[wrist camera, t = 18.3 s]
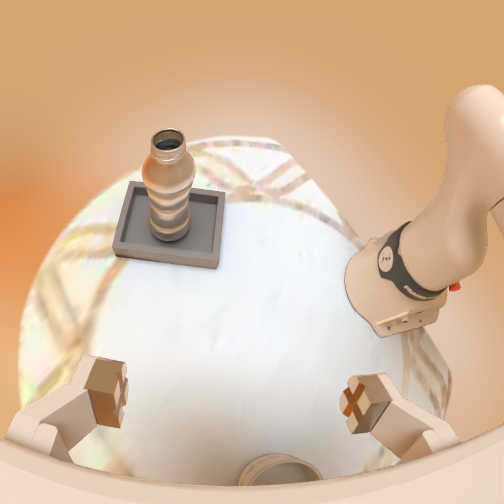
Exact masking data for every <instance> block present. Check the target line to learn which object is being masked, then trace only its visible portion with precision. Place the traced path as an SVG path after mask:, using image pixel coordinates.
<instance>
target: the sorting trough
mask: <svg viewBox="0 0 504 504" xmlns="http://www.w3.org/2000/svg"><path fill="white" fill-rule="evenodd" d="M224 200H225V192H219V191H212V190H204V189H197V188H191V189H190V194H189V208H190V212H191V224H190V227H189V229H188V231H187V233H186V234H185V235H184V236H183V237H181V238H180V239H178V240H175V241H163V240H160V239H158V238H157V237H155V236H154V235H153V233H152V231H151V230H150V228H149V224H148V217H149V211H150V200H149V196H148V192H147V189H146V186H145V184H144V182H135V181H130V183H129V186H128V189H127V193H126V196H125V200H124V203H123V207H122V210H121V214H120V218H119V221H118V225H117V229H116V233H115V237H114V241H113V245H112V248H113V250H114V252H115V254H116V256H118V257H125V258H133V259H140V260H148V261H156V262H163V263H171V264H179V265H187V266H196V267H204V268H212V269H216V268H217V264H218V261H219V250H220V240H221V230H222V220H223V210H224Z"/></svg>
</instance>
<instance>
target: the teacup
mask: <svg viewBox="0 0 504 504" xmlns="http://www.w3.org/2000/svg"><path fill="white" fill-rule="evenodd" d="M319 480H323V478H322V476H321V474H320V473H319V471H318V470H317V469H316V468H315V467H314V466H312V465H311V464H309V463H307V462H304V461H301V460H299V459H297V458H295V457H292V456H289V455H285V454H268V455H265V456H262V457H259V458H257V459H255V460H254V461H252V462H251V463H250V464H248V465H247V466H246V468H245V469H244V470H243V472H242V473H241V475H240V478H239V481H238V486H263V485H280V484H292V483H302V482H311V481H319Z"/></svg>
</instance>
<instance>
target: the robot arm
mask: <svg viewBox="0 0 504 504" xmlns="http://www.w3.org/2000/svg"><path fill="white" fill-rule="evenodd" d="M444 129H445V135H446V142H447V162H446V169H445V174H444V178H443V181H442V184H441V187H440V189H439V191H438V193H437V195H436V196H435V198H434V199H433V201H432V202H431V203H430V204H429V205H428V206H427V207H426V208H425V209H424V210H423V211H422V212H421V213H420V214H419V215H418V216H417V217H416V218H415V219H414V220H413V221H409V222H407V223H405V224H403V225H401V226H400V227H398V228H397V229H393V230H391V231H389V232H388V233H386V234H385V235H383V236H382V237H380V238H376V237H374V238H372V239H370V240H369V241H368V243H367V244H366V246H365V248H364V249H363V250H361V251H360V252H358V253H357V254H355V255H354V256H353V257H352V258H351V260H350V261H349V263H348V266H347V268H346V273H345V286H346V291H347V295H348V297H349V300H350V302H351V304H352V305H353V307H354V308H355V310H356V311H357V312H358V313H359V314H360V315H361V316H362V317H363V318H365V319H366V320H367V321H368V322H369V323H370V324H371V325H372V327H373V329H374V330H375V332H376V333H377V335H378V336H380V337H385V336H389V335H393V334H397V333H401V332H404V331H408V330H411V329H415V328H418V327H422V326H425V325H428V324H432V323H434V322H435V321H436V320H437V317H438V314H439V308H441V307H442V306H444V305H445V302H446V299H447V287H448V286H449V291H457V290H459V289H460V284H459V281H460V280H462V279H464V278H466V277H468V276H470V275H472V274H473V273H475V272H476V271H477V270H478V269H479V268H480V266H481V265H482V263H483V260H484V258H485V255H486V251H487V246H488V235H487V214H488V210H489V211H490V212H491V214H492V216H493V218H494V220H495V221H496V224H497V226H498V228H499V229H500V232H501V234H502V236H503V238H504V95H503V94H502V93H501V92H500V91H499V90H497V89H496V88H495V87H493V86H491V85H474V86H471V87H468V88H466V89H464V90H462V91H461V92H460V93H458V94H457V95H456V96H455V97H454V99H453V100H452V101H451V103H450V105H449V107H448V109H447V113H446V116H445V122H444ZM387 327H388V328H389V330H388V329H387ZM126 372H127V368H126V363H125V362H121V361H116V360H111V359H106V358H102V357H96V356H91V355H87V354H85V355H83V356H82V358H81V360H80V362H79V364H78V366H77V368H76V371H75V373H74V375H73V377H72V379H71V382H70V384H69V385H66V384H65V385H63V386H61V387H60V388H58V389H56V390H54V391H53V392H51V393H49V394H48V395H46V396H44V397H42V398H41V399H39V400H37V401H35V402H34V403H32V404H30V405H29V406H27V407H25V408H23V409H22V410H20V411H18V412H17V413H16V415H15V417H14V419H13V421H12V423H11V425H10V427H9V430H8V432H7V434H6V436H5V438H2V437H0V504H504V423H503V424H501V425H499V426H497V427H496V428H493V429H492V430H489V431H487V432H486V433H483V434H481V435H479V436H476V437H474V438H472V439H469V440H467V441H465V442H462V443H461V442H460V441H459V439H458V437H457V436H456V434H455V433H454V432H453V430H452V428H451V427H450V425H449V424H448V423H446V422H445V421H443V420H441V419H439V418H438V417H436V416H434V415H433V414H431V413H429V412H427V411H426V410H424V409H422V408H421V407H419V406H417V405H416V404H414V403H412V402H411V401H409V400H407V399H403V397H402V396H401V394H400V393H399V391H398V390H397V388H396V387H395V385H394V384H393V382H392V380H391V379H390V377H389V376H388V375H387V374H386V373H381V374H370V375H355V376H352V377H350V378H349V380H348V382H347V384H348V386H349V387H348V388H347V389H345V390H344V391H343V393H342V395H341V397H340V408H341V411H342V413H343V414H344V415H345V416H347V417H348V418H347V421H346V422H347V425H348V427H349V429H350V432H351V434H359V433H367V432H370V433H371V434H372V435H373V436H374V437H375V438H376V439H377V440H379V441H380V442H381V443H382V444H383V445H384V446H386V447H387V448H388V449H389V450H390V451H392V452H393V453H394V454H395V455H396V456H397V457H399V458H400V460H399V461H398V462H397V463H396V464H395V465H394V466H390V467H386V468H382V469H378V470H374V471H369V472H365V473H360V474H355V475H350V476H344V477H339V478H332V479H326V480H319V481H311V482H302V483H292V484H280V485H263V486H210V485H192V484H180V483H170V482H162V481H154V480H147V479H141V478H135V477H129V476H123V475H118V474H113V473H109V472H104V471H100V470H96V469H92V468H88V467H84V466H80V465H77V464H74V463H73V461H72V459H71V457H70V455H69V453H68V451H69V450H70V449H72V448H73V447H74V446H75V445H76V444H77V443H78V442H79V441H81V440H82V439H83V438H84V437H85V436H86V435H87V434H88V433H89V432H91V431H92V430H93V429H94V428H95V427H96V426H97V424H99V425H104V426H109V427H115V428H121V424H122V420H123V415H124V412H123V406H125V405H126V402H127V397H128V379H127V378H126V377H125V376H126Z"/></svg>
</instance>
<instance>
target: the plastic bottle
mask: <svg viewBox="0 0 504 504" xmlns="http://www.w3.org/2000/svg"><path fill="white" fill-rule="evenodd" d="M195 173H196V166H195V162H194V160H193V158H192V156H191V155H190V153H188V152H187V151H186V145H185V136H184V134H183V133H182V132H181V131H179V130H177V129H173V128H166V129H162V130H159V131H158V132H156V133H155V134H154V135H153V136H152V139H151V154H150V155H149V156H148V157H147V158H146V160H145V162H144V165H143V168H142V177H143V181H144V184H145V186H146V189H147V192H148V196H149V200H150V211H149V217H148V224H149V228H150V230H151V231H152V233H153V235H154V236H155V237H157V238H158V239H160V240H163V241H175V240H178V239H180V238H181V237H183V236H184V235H185V234H186V233H187V231H188V229H189V227H190V224H191V212H190V208H189V194H190V189H191V186H192V183H193V180H194V177H195Z"/></svg>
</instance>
